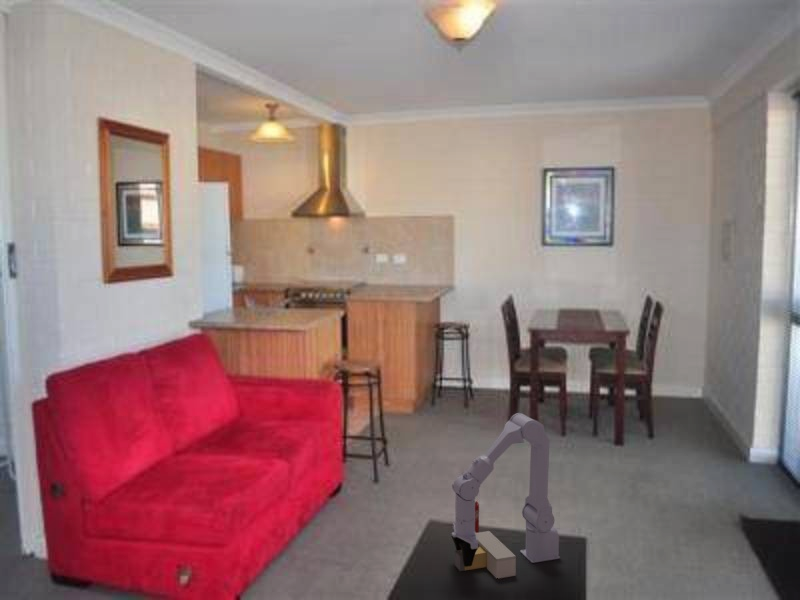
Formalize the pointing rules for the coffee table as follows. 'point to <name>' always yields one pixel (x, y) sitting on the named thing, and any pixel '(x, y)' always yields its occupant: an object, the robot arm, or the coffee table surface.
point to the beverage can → (476, 516)
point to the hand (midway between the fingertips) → (465, 562)
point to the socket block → (497, 555)
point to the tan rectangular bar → (478, 560)
